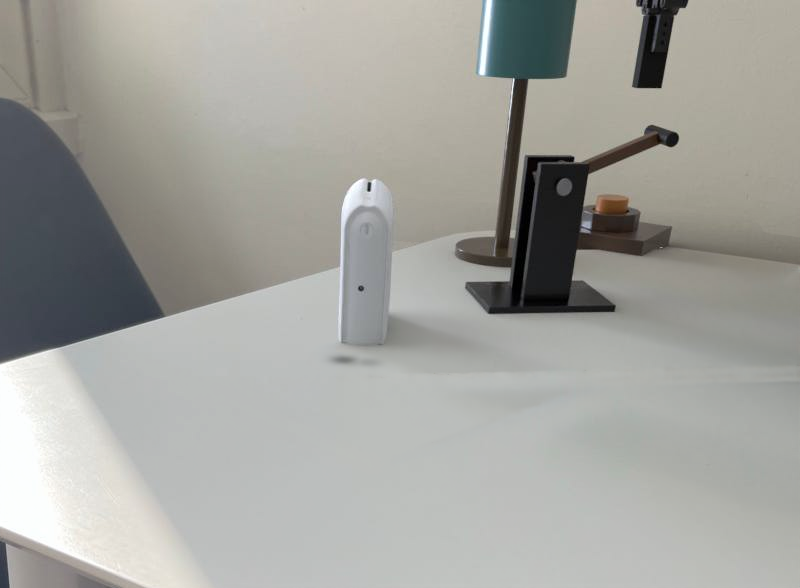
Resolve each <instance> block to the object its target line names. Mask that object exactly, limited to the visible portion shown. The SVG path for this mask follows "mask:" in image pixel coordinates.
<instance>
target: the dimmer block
mask: <svg viewBox="0 0 800 588" xmlns="http://www.w3.org/2000/svg"><path fill="white" fill-rule="evenodd" d="M595 206H596V204H588V205H585V206H583V212H582V218H581V225H580V231H579V238H578V244H577V251H593V250H594V251H598V250H599V251H605V252H611V253H618V254H623V255H630V256H637V257H642V256H644V255H646V254H648V253H650V252H651V251H653V250H663V249H665V248H666V247H668V246H669V245H670V240H671V235H672V230H673V226H672V225H666V224H657V223H652V222H651V223H650V222H645V221H644V222H642V221H640V218H641V214H642V212H641V210H639V209H637V208H634V207H630V206H628V208H627V213H621V214H613V213H602V212H597V211H595ZM660 247H663V248H661V249H659V248H660Z"/></svg>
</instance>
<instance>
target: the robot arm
mask: <svg viewBox="0 0 800 588" xmlns="http://www.w3.org/2000/svg"><path fill="white" fill-rule="evenodd" d="M688 4H689V0H635V7H637V8H641V14H642V15H643V17H642V22H641V29H640V35H639V39H638V40H639V41H638V47H637V54H636V59H635V65H634V70H633V78H632V83H631V88H635V89H662V87H663V81H664V76H665V71H666V65H667V60H668V53H669V49H670V44H671V43H670V42H671V37H672V32H673V27H674V21H675V16H677V15H678V14H679V11H680V9H686V8H687V6H688Z"/></svg>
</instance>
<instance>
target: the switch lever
mask: <svg viewBox="0 0 800 588" xmlns="http://www.w3.org/2000/svg"><path fill="white" fill-rule="evenodd" d="M679 141H680V135H679V133H677V132H676V131H673V130H670V129H667V128H663V127H661V126H657V125H655V124H650V125H647V126H646V127H645V129H644V132H643V135H642V136H639V137H636V138H634V139H632V140H630V141H627V142H625V143H622V144H620V145H618V146H615V147H613V148H611V149H608V150H606V151H604V152H601V153H599V154H597V155H594V156H592V157H590V158H587V159H584V160H582V161H581V162H586V163H589V164H590V167H589V173H588V175H591V174H593V173H595V172H598V171H600V170H602V169H604V168H607V167H609V166H612V165H614V164H616V163H619V162H622V161H624V160H626V159H629V158H631V157H633V156H635V155H637V154H640V153H642V152H645V151H647V150H650V149H652V148H654V147H658V146H659V145H662V146H665V147H667V148H674V147H676V146H677V145H678V143H679ZM558 162H565V161H563V160H560V161H558ZM536 175H537V170H536V171H534V172H533V177H534V181H535V183H536Z"/></svg>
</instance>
